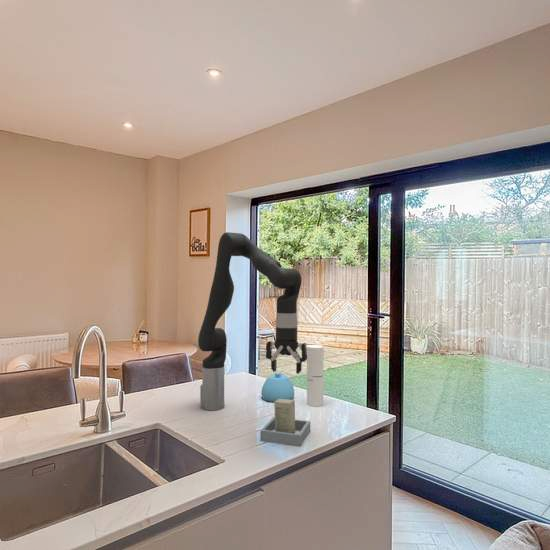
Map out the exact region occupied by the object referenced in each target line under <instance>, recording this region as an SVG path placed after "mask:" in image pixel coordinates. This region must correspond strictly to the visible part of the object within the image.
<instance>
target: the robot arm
mask: <svg viewBox="0 0 550 550" xmlns="http://www.w3.org/2000/svg"><path fill="white" fill-rule="evenodd" d="M217 247H218V248H217V254H216V255H217V256H216V264H215V267H214V268H215V269H214V274H213V280H212V284H211V287H210V293H209V296H208V301H207V307H206V310H205V315H204V318H203V320H202V324H201V327H200V330H199V333H198V338H197V343H198V348H199V349H200V351H202V352H210V354H209V355H208V356H207V357H205V358H204V359H203V360H202V368H201V369H202V375H201V376H202V378H201V379H202V384H200V387H199V388H200V390H199V392H200V394H199V395H200V399H199V401H200V402H199V403H200V404H199V405H200V409H203V410H205V411H219V410H222V409H224V408H225V363H226V360H227V359H226V358H227V344H228V343H227V342H228V341H227V340H228V339H227V338H228V337H227V334H226V332H225V330H224V329H223V328H220V327H216V326H217V324H218V321H219V320H220V319H221V318H222V316H223V315H224V314H225V312H226V311H227V310H228V309H229V307H230V305H231V304H232V301H233V296H234V291H235V285H234V282H233V277H232V275H231V271H230V266H231V259H232V257H242V258H243V257H244V258H246V259H248V260H249V261H251V264H252V266H253V268H254V269H255V270H257V271H258V272H259V273H260V274H261V275H264V277H266V278H267V279H268V281H269V282H270V283H271V285H272V286H274V287H276V288H277V289H281V290H284V292H283V294H282V295H279V296H277V298H276V314H275V315H276V317H275V340H274V341H272V340H269V341H267V342H266V347H265V348H266V349H265V350H266V352H265V353H266V354H265V358H266V359H268V360H270V369H271V371H272V372H273V373H276V371H277V361H278V360H277V358H278V357H279V356H280V355H281V356H291V357H293V359H295V361H296V364H295V365H296V367H295V369H296V372H295V373H296V374H297V375H299V374H300V373H302V371H303V370H302V368H303V367H302V364H303V362H307V342H304V343H299V342H298V312H297V311H298V310H297V309H298V307H297V306H298V305H297V304H298V303H297V302H298V298H299V295H300V290H301V286H302V276H301V273H300V271H299V270H298V269H297V268H286V267H285V268H284V267H282V264H281V262H279V261H278V260H277V259H276V258H274V257H272V256H271V255H269V254H268V253H267V252H264V250H261V248H259V247H258V246H257V245H256V244H255V243H254V242H253V241H252V240H251V239H250V238H249V237H248V236H246V235H245V234H243V233H242V232H241V233H239V232H223V234H222V235H221V236H220V238H219V241H218V246H217ZM274 347H275V349H276V351H275V352H274V353H273V355H272V352H273V348H274ZM298 348H299V350H301V356H300V354H299V352H298Z"/></svg>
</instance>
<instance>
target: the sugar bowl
mask: <svg viewBox="0 0 550 550" xmlns="http://www.w3.org/2000/svg"><path fill="white" fill-rule="evenodd" d="M260 395H261V396H262V397H263V399H264V400H265V401H267V402H270V403H274V402H275V401H276V400H278V399H288V400H293V398H294V396H295V389H294V386H293V383H292V382H291V380H290V378H289V377H288V375H284V374H282V372H278V371H277V372H276V371H275V372H274V374H272V375H269V376H268V377H267V378H266V379H265V381H264V383H263V385H262V387H261V394H260Z"/></svg>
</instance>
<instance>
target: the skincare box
mask: <svg viewBox="0 0 550 550" xmlns="http://www.w3.org/2000/svg"><path fill="white" fill-rule="evenodd" d="M273 404H274V417H275V428H274V431H278V432H286V433H294V434H296V430H295V419H296V408H295V407H296V406H295V400H294V399H291V400H288V399H278V400H276V401H275V402H273Z"/></svg>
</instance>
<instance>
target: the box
mask: <svg viewBox="0 0 550 550" xmlns="http://www.w3.org/2000/svg"><path fill="white" fill-rule="evenodd" d="M295 431H299V433H295V434H294V433H286V432H278V431H275V416H273V417H272V418H271V419H270V420H269V421H268V422H267V423H266V424H264V426H263V427H261V429H260V432H259V433H260V439H259V440H260V442H266V443H272V444H274V443H275V444H279V445H289V446H295V447H302V445H303V444H304V442H305V440H306V439H307V437H308V435H309V433H310V432H311V420H304V419H303V420H302V419H296V418H295Z"/></svg>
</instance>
